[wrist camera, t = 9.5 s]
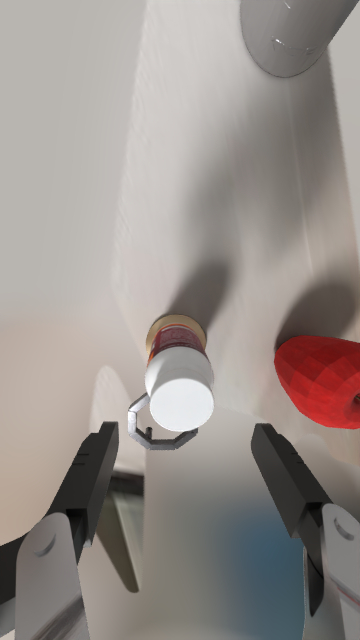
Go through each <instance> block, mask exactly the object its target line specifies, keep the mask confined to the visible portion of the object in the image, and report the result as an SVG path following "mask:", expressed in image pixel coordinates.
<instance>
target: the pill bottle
mask: <svg viewBox="0 0 360 640" xmlns="http://www.w3.org/2000/svg"><path fill="white" fill-rule="evenodd" d="M213 383H214V374H213V370H212V367H211V364H210V362H209V360H208V357H207V355H206V353H205V351H204V348H203V346H202V344H201V342H200V339H199V337H198V335H197V334H196V332H195V331H194V330H193V329H192V328H191V327H190V326H188V325H186V324H183V323H170V324H167V325H165V326H163V327H162V328H160V329H159V330H158V331H157V333H156V334H155V336H154V338H153V341H152V346H151V350H150V355H149V359H148V364H147V368H146V373H145V387H146V390H147V393H148V395H149V396H150V412H151V414H152V417H153V418H154V420H155V421H156V422H157V423H158V424H159V425H160V426H162V427H164V428H166V429H168V430H171V431H189V430H192V429H195V428H197V427H199V426H201V425H202V424H203V423H205V422H206V421H207V420H208V419H209V417H210V416H211V414H212V412H213V409H214V397H213V393H212V388H213Z"/></svg>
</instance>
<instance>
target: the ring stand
mask: <svg viewBox="0 0 360 640" xmlns="http://www.w3.org/2000/svg"><path fill="white" fill-rule="evenodd" d="M149 402H150V396H149V395H148V393H147V392H146V393H145V394H144V395H142V396H141V397H140V398H139V399H137V400H136V401H135V402H134V403H132V404H131V405H130V407H129V410H128V433H130V434H129V436H131V437H132V438H133V439H135V440H136V441H137V442H138V443H140V444H141V445H142V446H144V447H145V448H146V449H149V448H150V450H175V448H176V449H178V448H179V447H181V446H182V445H183V444H185V443H186V442H188V441H189V440H190V439H192V438H193V437H194V436H196V433H198V427H197V428H195V429H192V430H189V431H184V432H183V433H182V434H180V435H179V436H178V437H176V438H175V439H173V440H172V439H168V440H152V439H151V437H152V428H151V427H148V428H146V433H145V434H144V433H143V432H142V431H141V430H139V429H138V428H137V412H138V411H139V410H140V409H141V408H143V407H144V406H145V405H146V404H147V403H149Z"/></svg>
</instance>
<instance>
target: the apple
mask: <svg viewBox="0 0 360 640" xmlns="http://www.w3.org/2000/svg"><path fill="white" fill-rule="evenodd" d="M274 365H275V369H276V372H277V375H278V378H279V380H280V383H281V385H282V387H283V388H284V390H285V391H286V393H287V394H288V396H289V397H290V399H291V400H292V402H293V403H294V405H295V406H296V407H297V409H298V410H299V411H300V412H301V413H302V414H304V415H305V416H307V417H308V418H310V419H311V420H313V421H315V422H316V423H319V424H321V425H324V426H326V427H333V428H345V429H358V428H360V343H357V342H353V341H348V340H343V339H339V338H333V337H320V336H306V335H300V336H297V337H293V338H291V339H289V340H288V341H286V342H284V343H283V344H282V345H281V346H280V347H279V349H278V350H277V351H276V354H275V359H274Z"/></svg>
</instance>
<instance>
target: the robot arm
mask: <svg viewBox="0 0 360 640" xmlns="http://www.w3.org/2000/svg"><path fill="white" fill-rule="evenodd" d="M358 1H359V0H241V3H240V17H241V26H242V32H243V37H244V40H245V43H246V46H247V48H248V50H249V52H250V54H251V56H252V57H253V59H254V60H255V61H256V63H257V64H258V65H259V66H260V67H261V68H262V69H264V70H265V71H266V72H268V73H269V74H272V75H275V76H278V77H290V76H294V75H298V74H300V73H301V72H303V71H305V70H307V69H308V68H309V67H310V66H311V65H312V64H314V63H315V62H316V61H317V59H318V58H319V57H320V55H321V54H322V53H323V51H324V50H325V49H326V47H327V46H328V44H329V43H330V41H331V40H332V39H333V37H334V36H335V34H336V33H337V31H338V30H339V28H340V27H341V26H342V24H343V23H344V21H345V20H346V19H347V17H348V16H349V14H350V13H351V11H352V10H353V9H354V7H355V6H356V4H357V3H358ZM118 445H119V432H118V422H103V424H102V426H101V428H100V430H99V433H91V434H90V435H89V436H88V437H87V438H86V439H85V440H84V441H83V443H82V444H81V447H80V448H79V450H78V452H77V455H76V456H75V458H74V460H73V462H72V465H71V467H70V468H69V470H68V472H67V474H66V476H65V478H64V480H63V482H62V484H61V486H60V489H59V490H58V492H57V494H56V496H55V498H54V500H53V502H52V504H51V506H50V508H49V510H48V511H47V513H46V514H45V516H44V517H43V518H42V519H41V520H40V521H39V522H38V523H37V524H36V525H35V526H34V527H33V528H32V529H31V530H30V531H29V532H28V533H26V534H25V535H23V536H22V537H20V538H18V539H16V540H13V541H11V542H9V543H6V544H4V545H2V546H0V637H2V636H4V635H5V634H7V633H9V632H10V631H12V630H13V629H15V640H90V637H89V631H88V626H87V619H86V613H85V608H84V603H83V598H82V592H81V586H80V581H79V575H78V569H77V565H78V562H79V559H80V556H81V553H82V550H83V548H84V547H91V545H92V542H93V538H94V535H95V531H96V528H97V524H98V520H99V517H100V513H101V510H102V506H103V503H104V499H105V495H106V492H107V488H108V485H109V481H110V478H111V474H112V471H113V467H114V463H115V460H116V456H117V452H118ZM251 450H252V454H253V456H254V459H255V461H256V463H257V465H258V467H259V469H260V472H261V474H262V476H263V478H264V481H265V482H266V485H267V487H268V489H269V491H270V494H271V496H272V498H273V500H274V502H275V505H276V507H277V509H278V511H279V513H280V515H281V518H282V520H283V522H284V524H285V527H286V529H287V531H288V533H289V535H290V537H291V538H301V540H302V542H303V544H304V546H305V547H304V589H305V627H304V632H303V639H302V640H360V524H359V523H358V522H357V521H356V520H355V519H354V517H353V516H351V515H350V514H349V513H348V512H347V511H345V510H344V509H342V508H341V507H339V506H337V505H335V504H334V503H333V502H332V501H331V499H330V498H329V497H328V495H327V494H326V492H325V491H324V490H323V488H322V487H321V485H320V484H319V482H318V481H317V480H316V478H315V477H314V475H313V474H312V473H311V471H310V470H309V468H308V467H307V466H306V464H304V461H303V460H302V458H301V457H300V456H299V455H298V453H297V452H296V450H295V449H294V447H293V446H292V444H291V443H290V442H289V441H288V440H287V439H286V438H285V437H284V436H282V435H281V434H277V432H276V431H275V429H274V428H273V426H272V425H271V424H269V423H263V424H262V423H257V424H256V425H255V428H254V433H253V436H252V440H251Z"/></svg>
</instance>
